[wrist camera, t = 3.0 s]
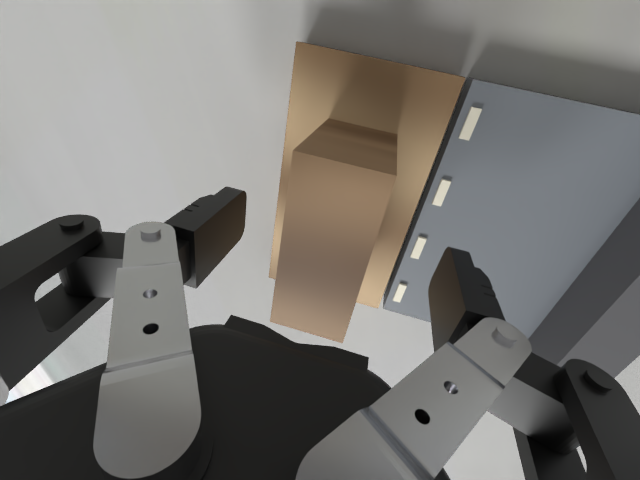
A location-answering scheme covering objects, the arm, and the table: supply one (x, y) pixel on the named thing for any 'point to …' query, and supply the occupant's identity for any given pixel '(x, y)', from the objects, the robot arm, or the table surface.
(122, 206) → the table surface
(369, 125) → the stub
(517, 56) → the table surface
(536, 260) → the board
